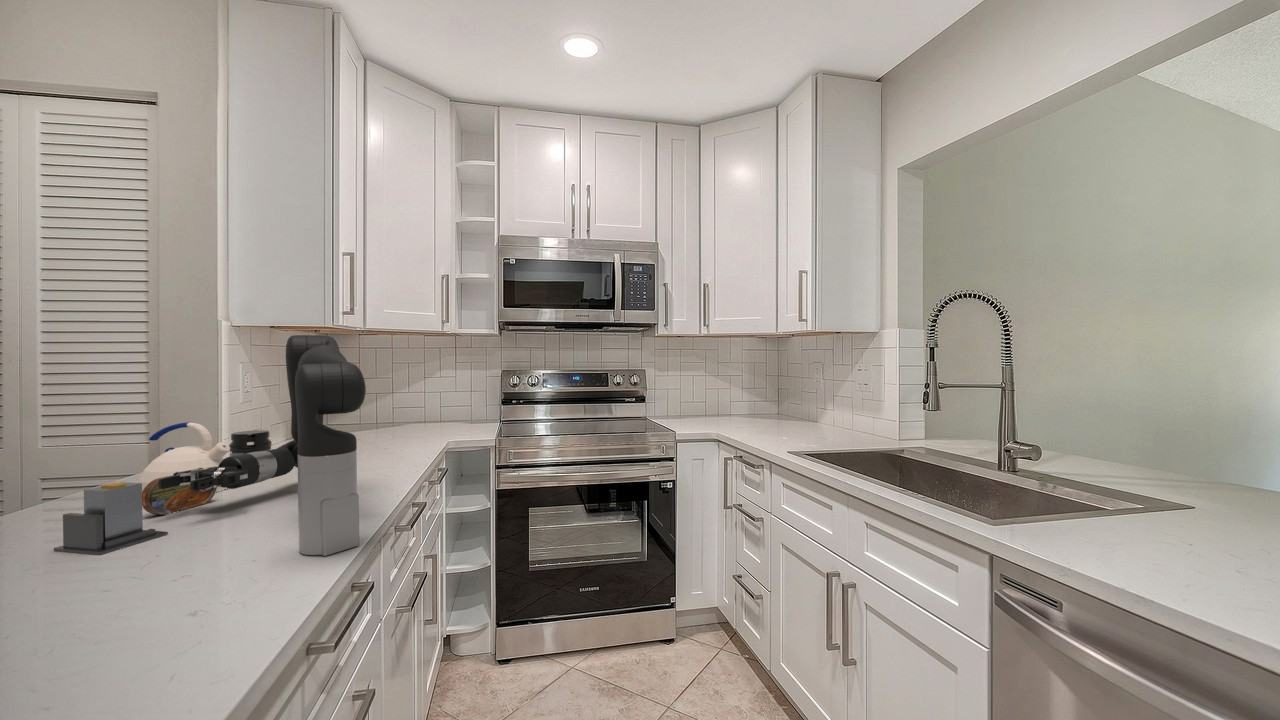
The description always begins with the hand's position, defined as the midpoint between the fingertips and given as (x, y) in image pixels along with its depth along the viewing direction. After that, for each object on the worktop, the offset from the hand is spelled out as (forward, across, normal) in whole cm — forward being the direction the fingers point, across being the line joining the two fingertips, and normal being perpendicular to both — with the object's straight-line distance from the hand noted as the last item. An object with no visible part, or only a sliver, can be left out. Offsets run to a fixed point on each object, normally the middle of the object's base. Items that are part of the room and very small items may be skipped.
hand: (175, 485), depth 110 cm
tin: (-9, -11, +8) cm, 16 cm away
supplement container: (-46, -34, +8) cm, 57 cm away
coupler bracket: (+11, 0, +8) cm, 14 cm away
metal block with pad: (+11, 0, +8) cm, 13 cm away
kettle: (-24, -28, +8) cm, 37 cm away
